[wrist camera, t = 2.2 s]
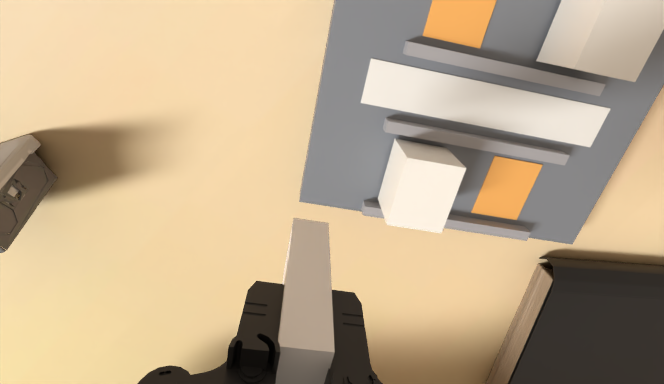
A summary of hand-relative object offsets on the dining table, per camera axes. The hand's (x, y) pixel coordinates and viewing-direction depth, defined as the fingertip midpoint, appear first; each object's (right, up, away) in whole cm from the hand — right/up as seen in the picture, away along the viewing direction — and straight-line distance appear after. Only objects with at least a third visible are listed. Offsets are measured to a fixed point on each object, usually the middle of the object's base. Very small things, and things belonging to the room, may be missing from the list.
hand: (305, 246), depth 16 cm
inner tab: (+7, +4, +12) cm, 15 cm away
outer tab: (+17, +13, +8) cm, 23 cm away
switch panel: (+12, +9, +12) cm, 20 cm away
